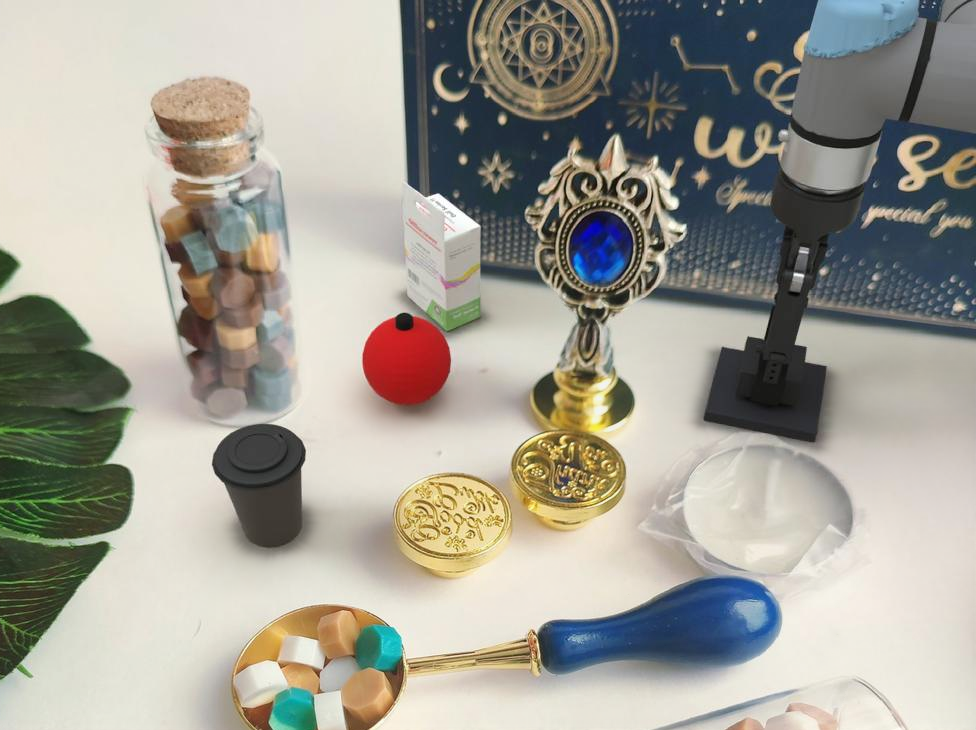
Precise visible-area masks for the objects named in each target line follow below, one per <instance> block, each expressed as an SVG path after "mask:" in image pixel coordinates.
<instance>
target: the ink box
mask: <svg viewBox="0 0 976 730" xmlns="http://www.w3.org/2000/svg"><path fill="white" fill-rule="evenodd" d="M401 188H402V189H401V190H402V192H401V193H402V217H403V219H402V220H403V222H402V223H403V238H404V254H405V257H404V258H405V275H406V292H407V297H408V298H409V299H410V300H411V301H413V303H415V305H417V306H418V307H419V308H420V309H421V310H422V311H424V312H425V314H426V315H428V316H429V317H430V318H431V319H432V320H433V321H435V323H437V324H438V325H439V326H440V327H441V329H443V330H445V331H446V332H450V331H451V330H454V329H456V328H458V327H461V326H463V325H466V324H467V323H469V322H472V321H474V320H476V319H479V318H481V315H482V314H481V225H480V224H479V223H478V222H476V221H475V220H473V219H472V218H471V217H469V216H468V215H467V214H466V213H464V212H463V211H462V210H460V209H459V208H458V207H457V206H455V205H454V203H453V204H452V202H450V201H449V200H448V199H446V198H445V197H443V195H441V194H440V193H435V194H431V195H429V196H426V197H425V196H424V195H423V194H421V193H420V192H419V191H418V190H416V189H415V188H414V187H412V186H411V185H409V184H408V183H407V182H406V181H402V185H401Z"/></svg>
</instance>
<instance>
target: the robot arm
mask: <svg viewBox="0 0 976 730" xmlns="http://www.w3.org/2000/svg"><path fill="white" fill-rule="evenodd" d="M919 6H920V0H817V3H816V7H815V11H814V15H813V18H812V21H811V25H810V30H809V31H808V35H807V36H808V37H807V39H806V42H805V44H804V45H805V46H804V51H803V54H802V59H801V64H800V69H799V74H798V79H797V82H796V88H795V92H794V97H793V101H792V108H791V111H790V117H789V123H788V126H787V127H788V128H787V129H781V130H780V131H779V132H778V135H777V139H778V140H779V142H781V143H784V145H783V149H782V153H781V157H780V167H779V168H778V169H777V172H776V176H775V180H774V185H773V188H772V194H771V198H770V202H769V203H770V210H771V213H772V215H773V216H774V217H775V219H776V220H777V221H778V222H780V223H781V224H783V225H784V231H783V234H782V241H781V245H780V249H779V255H780V262H779V264H778V265H779V266H778V269H777V274H776V278H775V282H776V284H777V290H776V292H775V294H774V297H773V300H774V304H775V305H773V304H772V305H771V309H770V312H769V313H770V314H769V317H768V322H767V325H766V328H765V329H766V330H765V334H764V338H763V339H764V340H767V342H766V344H764V345H762V344H758V345H757V349H756V352H758V353H762V355H761V359H760V363H759V367H758V371H757V375H756V379H755V383H754V387H753V391H752V395H751V399H750V401H754V402H759V403H764V404H769V405H774V406H778V403H779V399H780V395H781V392H782V388H783V384H784V381H785V377H786V374H787V370H788V366H789V364H790V362H791V361H792V358H793V356H792V354H793V349H794V345H796V341H797V337H798V334H799V330H800V326H801V323H802V319H803V315H804V313H805V312H804V311H805V309H807V308H808V305H809V300H810V297H809V295H810V291H811V290H813V289H814V287H815V285H816V281H817V278H818V273H819V269H820V266H821V264H822V263H823V262H824V261H825V258H826V254H827V250H828V246H829V242H828V241H829V236H830V234H835V233H840V232H842V231H844V230H846V229H848V228H850V226H852V225H853V223H854V222H856V219H857V217H858V214H859V210H860V208H861V207H860V206H861V204H862V200H863V197H864V193H865V190H866V182H867V181H868V180H869V178H870V176H871V173H872V169H873V165H874V163H875V160H876V159H875V158H876V157H877V156H876V155H877V152H878V148H879V145H880V141H881V137H882V134H883V129H884V124H885V122H886V120H892V121H898V122H902V123H913V124H918V125H925V126H929V127H936V128H941V129H946V130H953V131H957V132H963V133H964V132H966V133H970V134H976V0H942V1H941V4H940V6H939V14H938V21H937V20H936V19H927V18H925V17H919V16H920V13H919Z"/></svg>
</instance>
